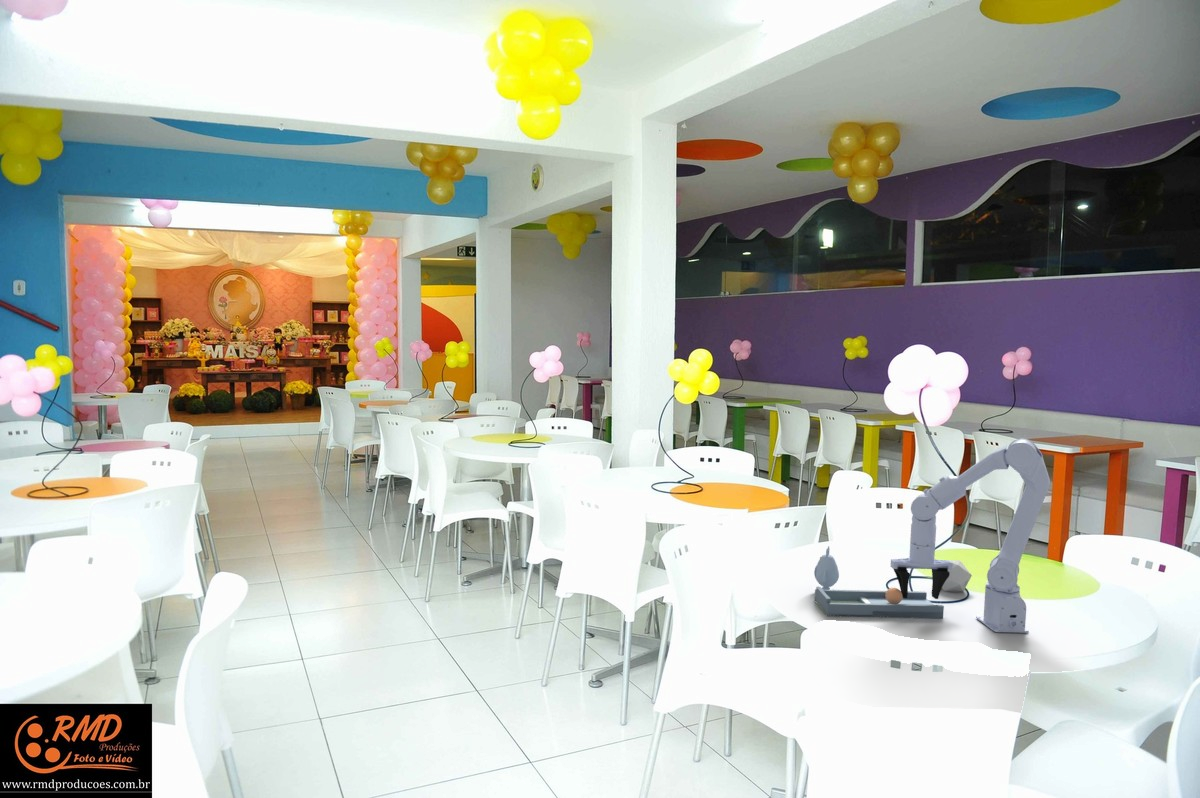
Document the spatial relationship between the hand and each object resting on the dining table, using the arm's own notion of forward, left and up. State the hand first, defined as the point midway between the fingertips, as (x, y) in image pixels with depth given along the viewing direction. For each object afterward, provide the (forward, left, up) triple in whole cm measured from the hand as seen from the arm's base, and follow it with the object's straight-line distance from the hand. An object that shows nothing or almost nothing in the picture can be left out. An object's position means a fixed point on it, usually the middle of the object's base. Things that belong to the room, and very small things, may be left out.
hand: (919, 597), depth 198 cm
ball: (0, +6, 0) cm, 6 cm away
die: (+17, -16, -3) cm, 23 cm away
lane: (0, +10, -3) cm, 11 cm away
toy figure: (+13, +19, -3) cm, 24 cm away
